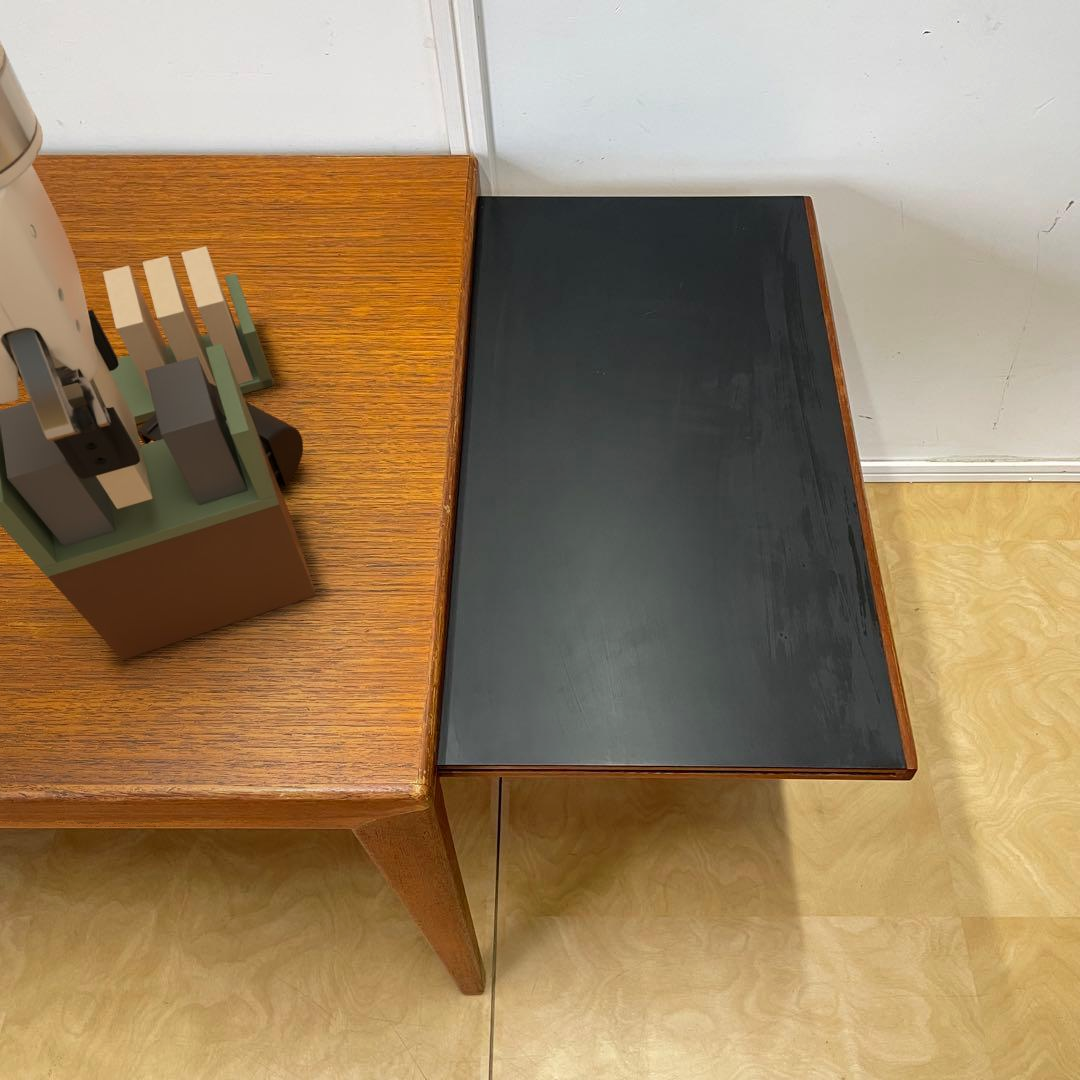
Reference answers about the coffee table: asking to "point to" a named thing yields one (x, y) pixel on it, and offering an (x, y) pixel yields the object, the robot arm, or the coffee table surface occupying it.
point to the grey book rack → (160, 518)
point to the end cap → (273, 433)
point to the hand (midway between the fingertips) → (99, 416)
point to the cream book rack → (180, 327)
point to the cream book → (131, 480)
